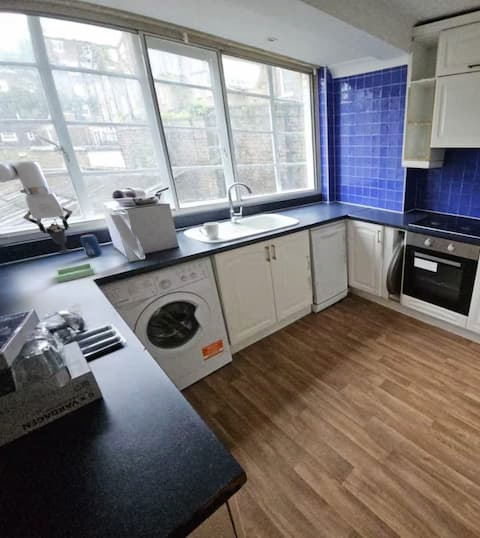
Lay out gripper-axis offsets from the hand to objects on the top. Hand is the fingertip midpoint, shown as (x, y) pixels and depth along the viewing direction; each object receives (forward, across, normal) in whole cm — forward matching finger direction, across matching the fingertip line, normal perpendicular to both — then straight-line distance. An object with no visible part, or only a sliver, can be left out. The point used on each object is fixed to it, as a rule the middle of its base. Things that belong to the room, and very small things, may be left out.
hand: (56, 230), depth 135 cm
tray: (+22, 0, 0) cm, 22 cm away
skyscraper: (+23, +25, +4) cm, 34 cm away
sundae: (+10, 0, 0) cm, 10 cm away
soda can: (+23, +9, +30) cm, 39 cm away
